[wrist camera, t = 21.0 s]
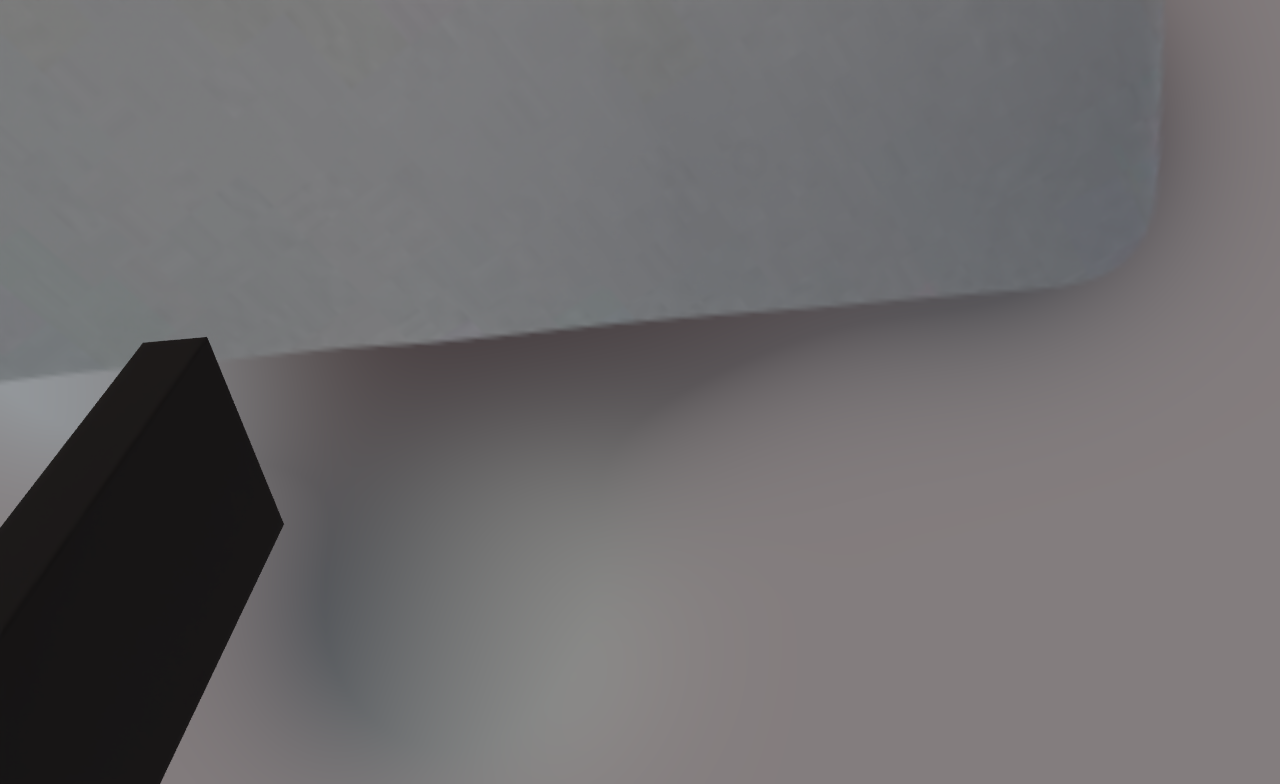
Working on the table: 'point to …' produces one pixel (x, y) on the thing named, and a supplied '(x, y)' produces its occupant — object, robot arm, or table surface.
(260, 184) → the table surface
